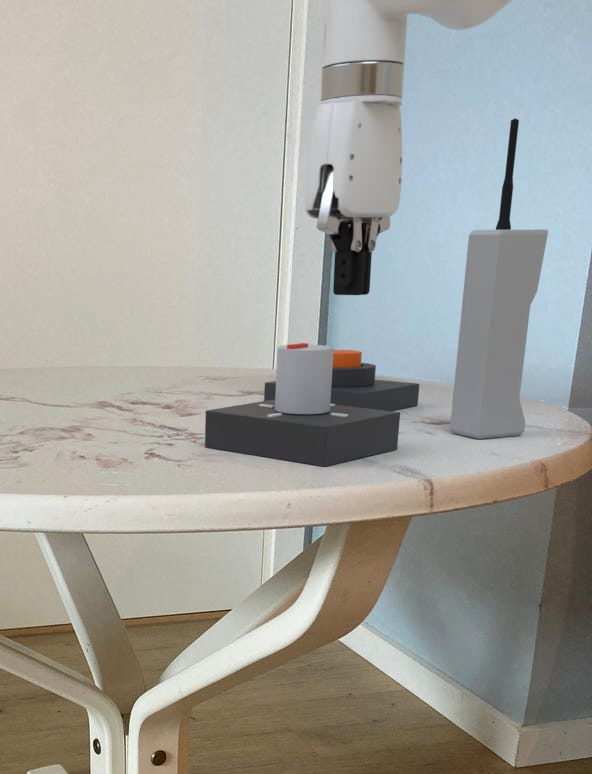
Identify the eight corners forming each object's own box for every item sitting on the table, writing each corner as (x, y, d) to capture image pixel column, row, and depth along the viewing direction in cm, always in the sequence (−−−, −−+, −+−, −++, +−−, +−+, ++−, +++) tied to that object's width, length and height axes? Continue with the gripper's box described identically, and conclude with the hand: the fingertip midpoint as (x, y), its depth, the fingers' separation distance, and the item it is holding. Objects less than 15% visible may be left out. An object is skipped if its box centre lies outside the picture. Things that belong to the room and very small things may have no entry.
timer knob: (295, 405, 92) (298, 339, 90) (340, 410, 89) (344, 342, 87) (263, 410, 89) (266, 343, 87) (309, 416, 86) (313, 346, 84)
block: (417, 405, 113) (421, 365, 111) (362, 416, 106) (365, 374, 105) (320, 394, 121) (323, 357, 119) (263, 404, 114) (265, 364, 113)
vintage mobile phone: (524, 435, 95) (562, 117, 87) (477, 439, 94) (512, 115, 85) (494, 429, 99) (528, 121, 90) (449, 433, 97) (479, 119, 88)
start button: (367, 369, 112) (368, 351, 112) (347, 372, 110) (348, 354, 109) (337, 366, 115) (339, 349, 114) (317, 369, 112) (318, 351, 112)
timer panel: (397, 449, 89) (400, 410, 88) (325, 466, 83) (327, 424, 82) (279, 432, 98) (280, 396, 96) (204, 447, 91) (205, 408, 90)
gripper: (371, 99, 111) (361, 291, 117) (280, 88, 101) (274, 297, 107) (439, 91, 106) (424, 292, 112) (349, 78, 96) (339, 298, 102)
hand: (351, 294), depth 109 cm, fingers closed
